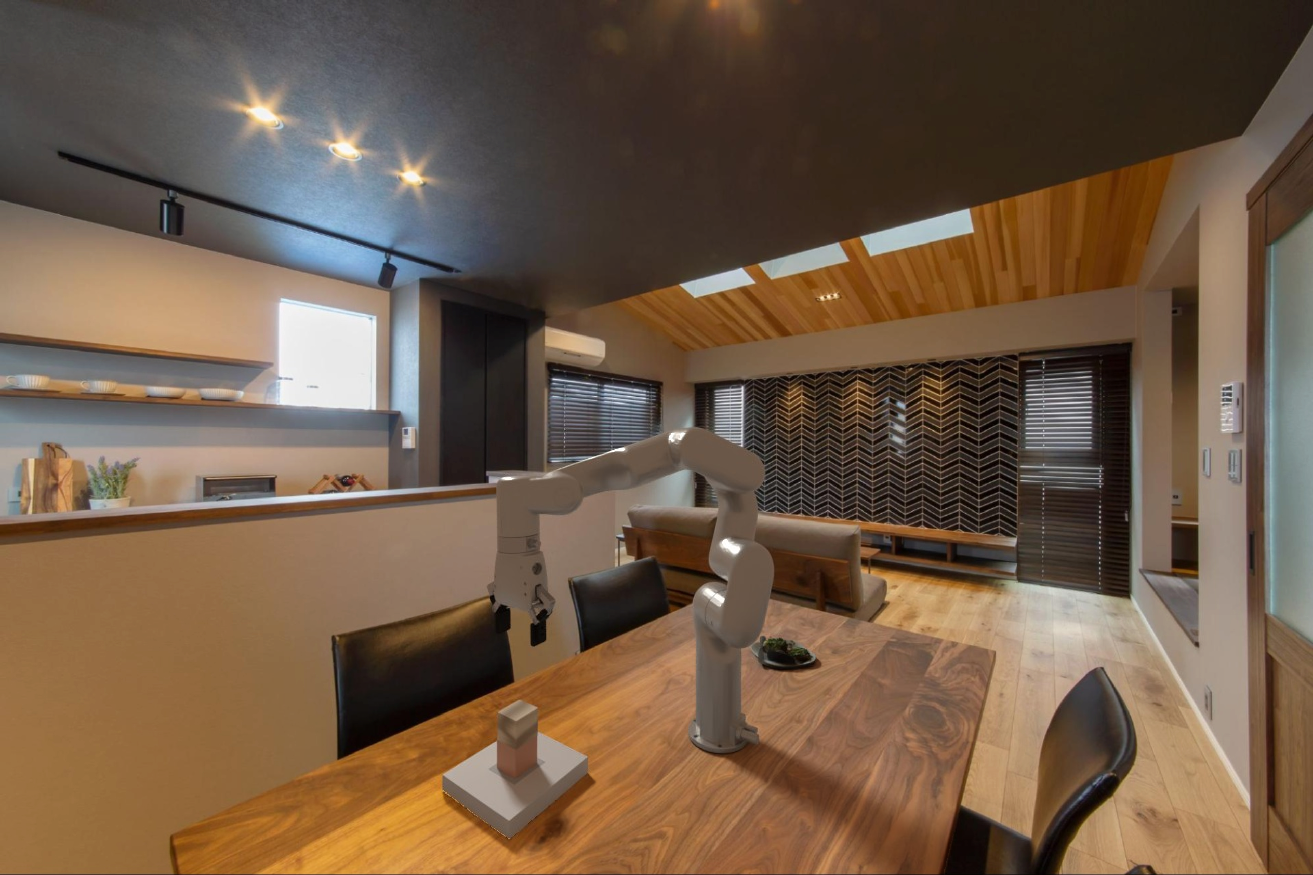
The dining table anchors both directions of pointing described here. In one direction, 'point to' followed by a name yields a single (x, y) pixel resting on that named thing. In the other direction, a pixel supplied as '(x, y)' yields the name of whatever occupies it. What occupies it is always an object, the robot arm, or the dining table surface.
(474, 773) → the grey base
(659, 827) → the dining table surface
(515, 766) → the terracotta cube
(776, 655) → the salad plate
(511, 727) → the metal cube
